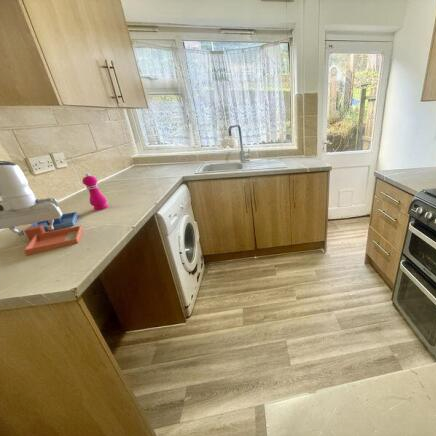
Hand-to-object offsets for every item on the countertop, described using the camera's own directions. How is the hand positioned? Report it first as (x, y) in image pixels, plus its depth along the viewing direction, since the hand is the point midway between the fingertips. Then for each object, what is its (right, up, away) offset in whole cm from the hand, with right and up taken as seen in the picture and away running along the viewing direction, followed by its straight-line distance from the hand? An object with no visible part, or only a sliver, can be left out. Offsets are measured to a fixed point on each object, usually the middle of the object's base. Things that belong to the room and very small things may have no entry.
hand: (36, 232), depth 103 cm
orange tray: (+13, -4, -4) cm, 14 cm away
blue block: (-3, +3, +12) cm, 13 cm away
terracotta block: (0, -2, +1) cm, 2 cm away
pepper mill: (+4, +11, +30) cm, 33 cm away
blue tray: (-3, +3, +12) cm, 13 cm away
